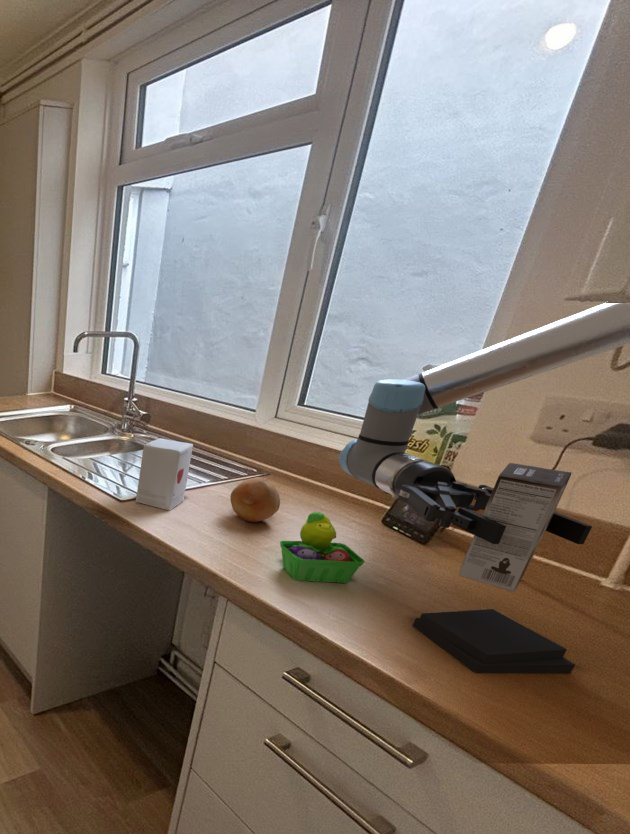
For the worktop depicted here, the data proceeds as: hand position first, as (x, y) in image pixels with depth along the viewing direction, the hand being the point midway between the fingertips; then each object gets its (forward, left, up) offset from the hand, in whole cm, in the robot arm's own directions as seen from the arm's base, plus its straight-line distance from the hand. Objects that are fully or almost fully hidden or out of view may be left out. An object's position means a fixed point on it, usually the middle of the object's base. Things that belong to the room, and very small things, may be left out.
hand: (542, 535), depth 72 cm
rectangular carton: (+30, -57, -18) cm, 67 cm away
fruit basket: (+14, -21, -18) cm, 31 cm away
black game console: (+2, +1, -18) cm, 18 cm away
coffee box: (0, -4, -9) cm, 10 cm away
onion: (+13, -46, -18) cm, 51 cm away
